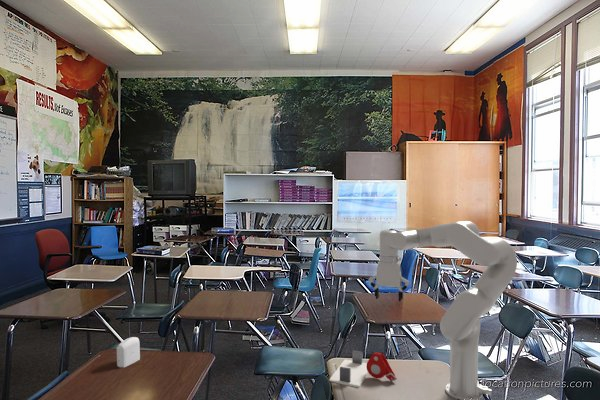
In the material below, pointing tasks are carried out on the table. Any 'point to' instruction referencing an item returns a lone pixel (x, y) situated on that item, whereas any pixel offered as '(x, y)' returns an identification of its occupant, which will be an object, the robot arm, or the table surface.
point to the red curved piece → (380, 367)
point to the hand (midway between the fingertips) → (388, 299)
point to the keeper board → (351, 371)
